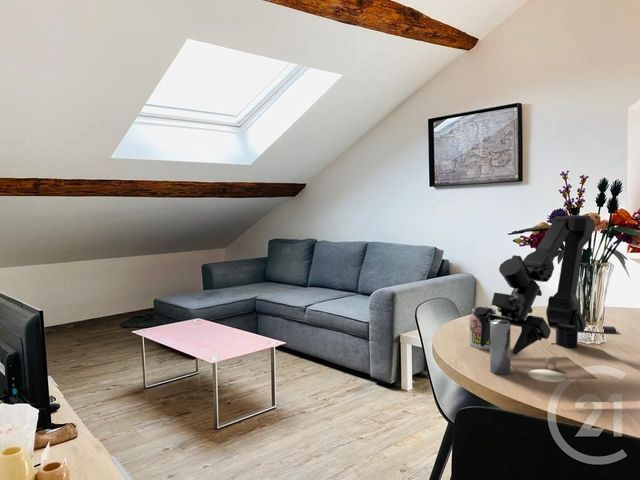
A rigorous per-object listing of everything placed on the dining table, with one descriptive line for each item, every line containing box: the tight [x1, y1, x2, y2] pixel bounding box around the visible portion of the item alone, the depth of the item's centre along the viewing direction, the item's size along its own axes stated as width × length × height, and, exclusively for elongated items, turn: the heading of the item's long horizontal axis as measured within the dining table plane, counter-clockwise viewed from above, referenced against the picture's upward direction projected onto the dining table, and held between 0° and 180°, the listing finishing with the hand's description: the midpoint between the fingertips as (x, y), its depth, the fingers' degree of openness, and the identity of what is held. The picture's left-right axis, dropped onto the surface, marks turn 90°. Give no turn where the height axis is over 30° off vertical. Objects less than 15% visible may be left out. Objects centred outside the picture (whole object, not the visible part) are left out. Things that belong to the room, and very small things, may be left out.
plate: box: [511, 356, 599, 383], centre depth 125 cm, size 18×17×1 cm
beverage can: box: [468, 306, 498, 350], centre depth 145 cm, size 9×8×12 cm
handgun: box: [548, 325, 617, 335], centre depth 165 cm, size 2×19×12 cm
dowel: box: [545, 355, 557, 370], centre depth 124 cm, size 2×2×3 cm
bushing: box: [489, 319, 512, 376], centre depth 123 cm, size 6×6×14 cm
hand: (497, 349), depth 123 cm, fingers open, 9 cm apart
